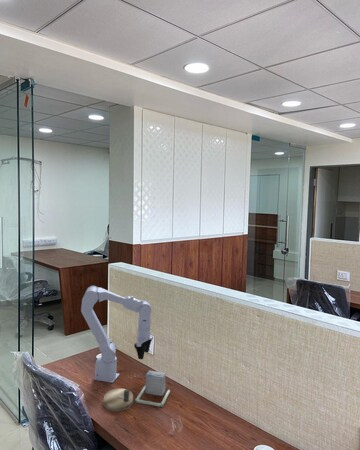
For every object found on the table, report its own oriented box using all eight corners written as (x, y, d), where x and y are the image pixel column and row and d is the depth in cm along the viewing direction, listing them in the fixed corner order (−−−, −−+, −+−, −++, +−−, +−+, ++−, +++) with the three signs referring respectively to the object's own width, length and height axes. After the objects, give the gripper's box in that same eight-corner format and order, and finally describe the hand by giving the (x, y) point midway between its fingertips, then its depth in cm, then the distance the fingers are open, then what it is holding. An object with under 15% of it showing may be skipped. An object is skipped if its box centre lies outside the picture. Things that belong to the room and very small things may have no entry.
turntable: (97, 401, 148) (97, 387, 147) (119, 389, 157) (119, 376, 157) (117, 413, 141) (118, 398, 140) (139, 400, 150) (139, 386, 150)
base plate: (98, 407, 144) (98, 407, 144) (111, 391, 156) (111, 391, 156) (126, 413, 141) (126, 412, 141) (137, 396, 153) (137, 396, 153)
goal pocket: (134, 402, 149) (134, 400, 149) (144, 387, 161) (144, 385, 161) (162, 407, 147) (162, 405, 146) (170, 391, 158) (170, 389, 158)
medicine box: (165, 391, 158) (165, 372, 158) (162, 396, 154) (163, 377, 153) (148, 388, 160) (148, 369, 160) (145, 393, 156) (145, 374, 155)
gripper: (147, 334, 161) (146, 363, 162) (157, 323, 175) (156, 350, 176) (132, 332, 162) (131, 361, 163) (143, 321, 176) (142, 348, 178)
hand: (143, 355), depth 170 cm, fingers open, 7 cm apart
